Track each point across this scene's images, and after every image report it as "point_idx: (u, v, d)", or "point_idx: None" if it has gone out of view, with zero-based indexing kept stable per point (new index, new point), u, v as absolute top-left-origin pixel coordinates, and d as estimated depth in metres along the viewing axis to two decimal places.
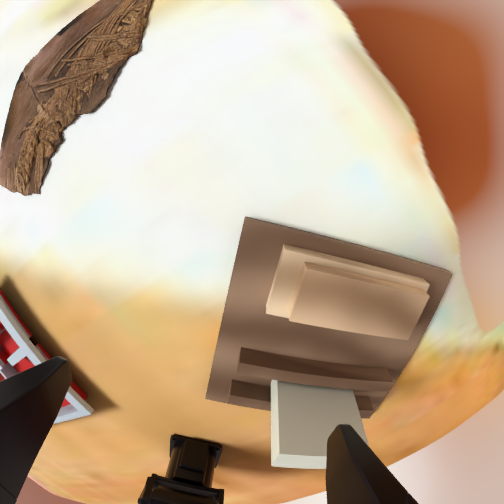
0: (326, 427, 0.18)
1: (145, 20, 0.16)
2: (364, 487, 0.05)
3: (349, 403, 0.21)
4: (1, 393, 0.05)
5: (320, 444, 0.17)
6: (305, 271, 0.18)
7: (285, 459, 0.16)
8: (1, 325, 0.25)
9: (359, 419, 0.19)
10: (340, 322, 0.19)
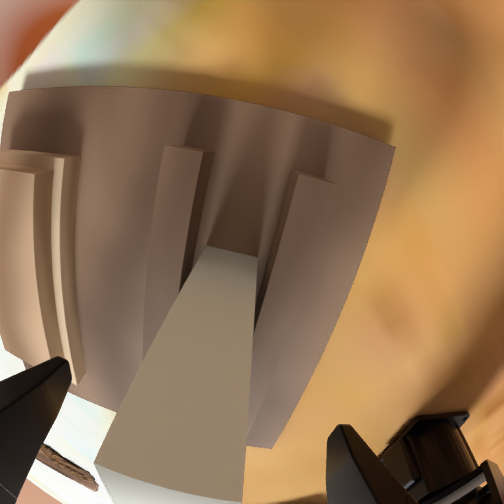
0: None
1: None
2: (364, 487, 0.05)
3: None
4: (1, 393, 0.05)
5: None
6: None
7: None
8: None
9: None
10: (33, 318, 0.10)
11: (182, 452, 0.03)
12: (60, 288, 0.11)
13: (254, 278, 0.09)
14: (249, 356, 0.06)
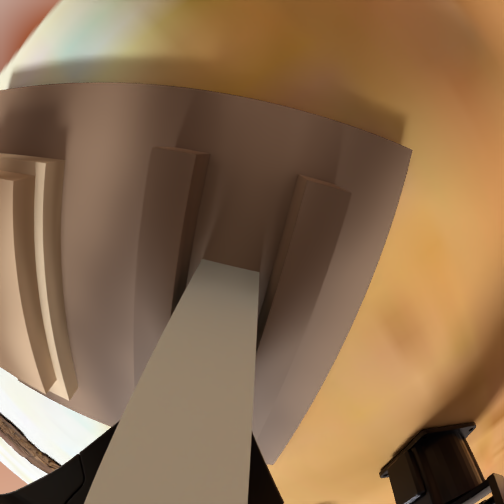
0: None
1: None
2: None
3: None
4: None
5: None
6: None
7: None
8: None
9: None
10: (19, 333, 0.09)
11: None
12: (46, 302, 0.10)
13: (256, 299, 0.08)
14: (250, 403, 0.05)
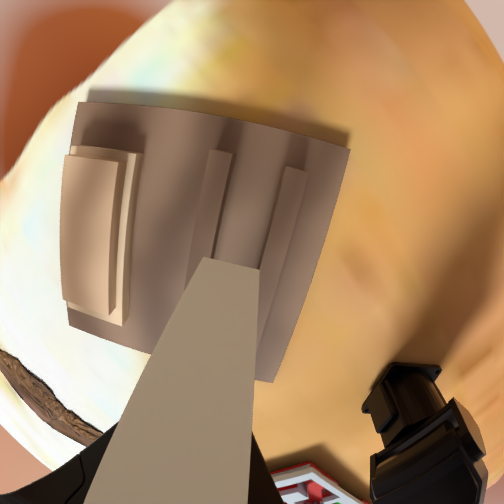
0: None
1: (4, 353, 0.25)
2: None
3: None
4: None
5: None
6: (66, 299, 0.18)
7: None
8: None
9: None
10: (100, 265, 0.16)
11: None
12: (123, 243, 0.17)
13: (256, 295, 0.08)
14: (251, 395, 0.05)
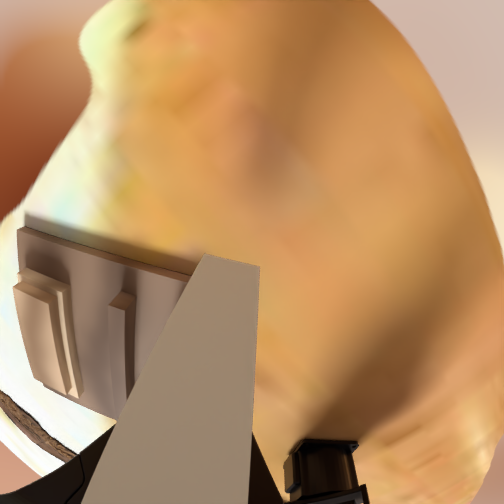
0: None
1: None
2: None
3: None
4: None
5: None
6: None
7: None
8: None
9: None
10: (53, 365, 0.18)
11: None
12: (68, 350, 0.19)
13: (256, 291, 0.08)
14: (251, 387, 0.05)
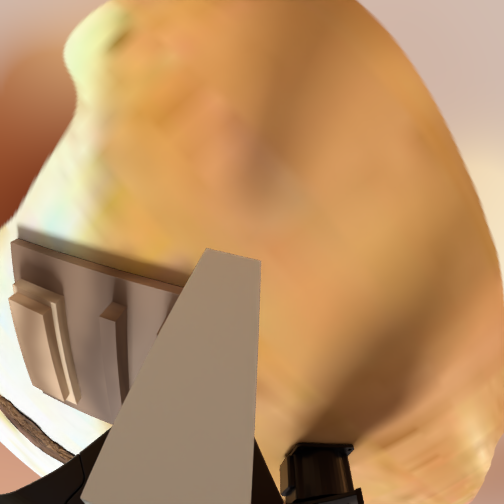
0: None
1: None
2: None
3: None
4: None
5: None
6: None
7: None
8: None
9: None
10: (50, 373, 0.18)
11: (180, 487, 0.03)
12: (64, 358, 0.19)
13: (258, 283, 0.09)
14: (254, 373, 0.05)
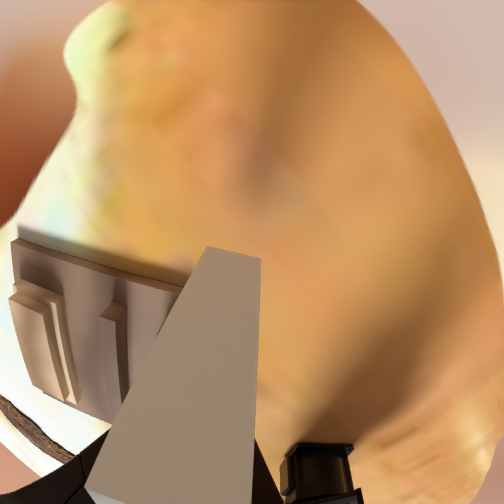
0: None
1: None
2: None
3: None
4: None
5: None
6: None
7: None
8: None
9: None
10: (50, 373, 0.18)
11: (182, 476, 0.03)
12: (64, 358, 0.19)
13: (258, 281, 0.09)
14: (254, 366, 0.05)
